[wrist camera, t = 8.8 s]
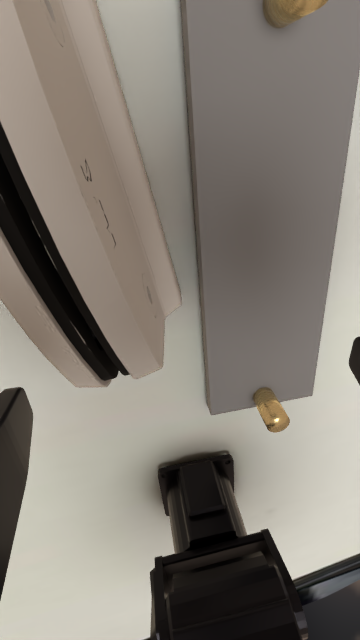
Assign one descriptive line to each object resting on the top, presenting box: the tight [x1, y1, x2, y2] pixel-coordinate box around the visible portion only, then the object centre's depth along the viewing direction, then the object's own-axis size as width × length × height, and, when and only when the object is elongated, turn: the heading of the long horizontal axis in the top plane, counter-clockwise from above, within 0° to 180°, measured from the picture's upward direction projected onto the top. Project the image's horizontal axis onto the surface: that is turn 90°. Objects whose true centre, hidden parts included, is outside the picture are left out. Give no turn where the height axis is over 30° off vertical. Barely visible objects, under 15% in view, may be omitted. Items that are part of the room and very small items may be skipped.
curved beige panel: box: [0, 0, 182, 387], centre depth 13 cm, size 17×5×10 cm, turn 15°
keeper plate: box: [180, 0, 360, 432], centre depth 19 cm, size 24×8×4 cm, turn 5°
